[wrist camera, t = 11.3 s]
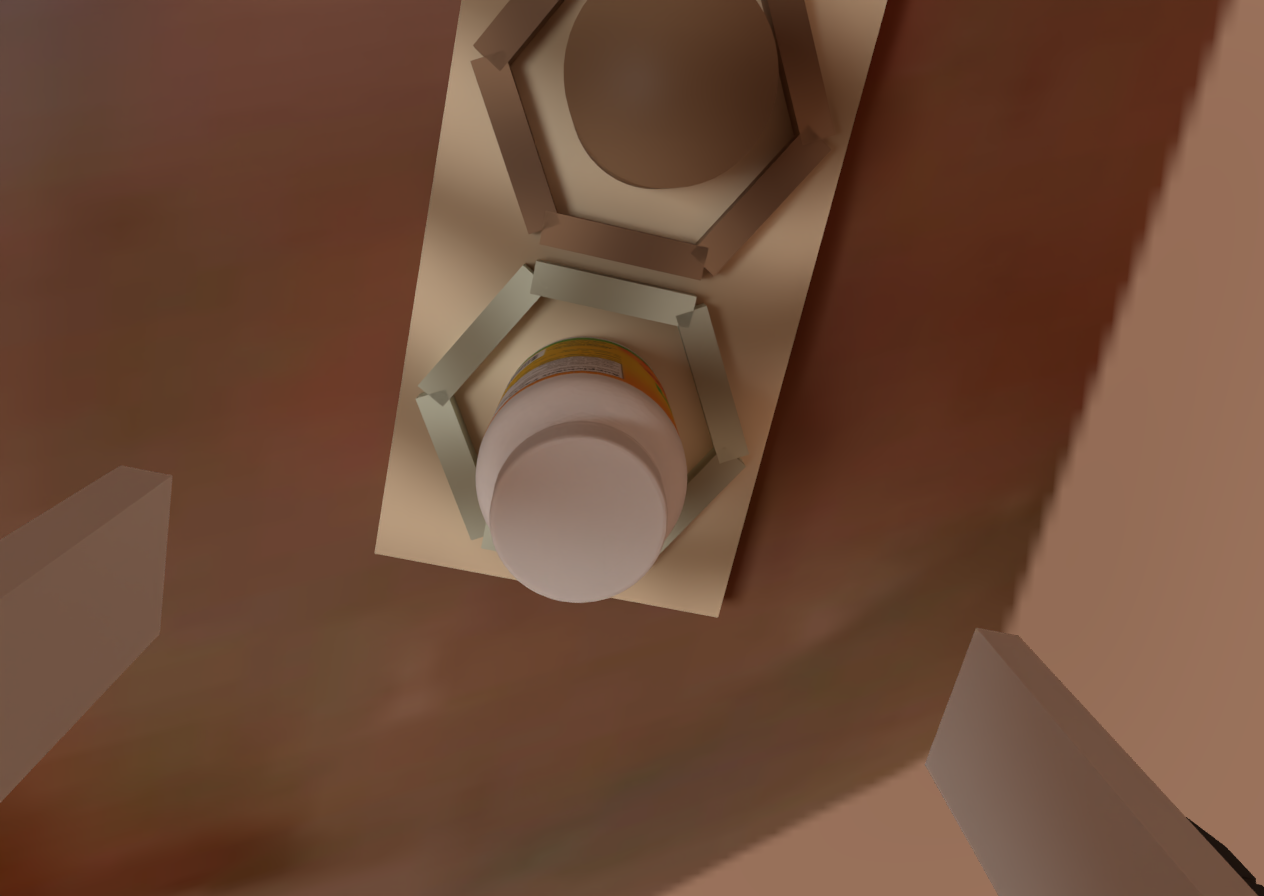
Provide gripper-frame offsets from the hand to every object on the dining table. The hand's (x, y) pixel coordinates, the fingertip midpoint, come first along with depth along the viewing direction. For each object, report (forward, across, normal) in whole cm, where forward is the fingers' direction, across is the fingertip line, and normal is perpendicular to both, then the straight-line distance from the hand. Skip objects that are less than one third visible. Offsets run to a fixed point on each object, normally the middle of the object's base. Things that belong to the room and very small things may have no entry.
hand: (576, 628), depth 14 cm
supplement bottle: (+15, 0, 0) cm, 15 cm away
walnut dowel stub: (+15, 0, +9) cm, 18 cm away
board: (+17, 0, +4) cm, 17 cm away
